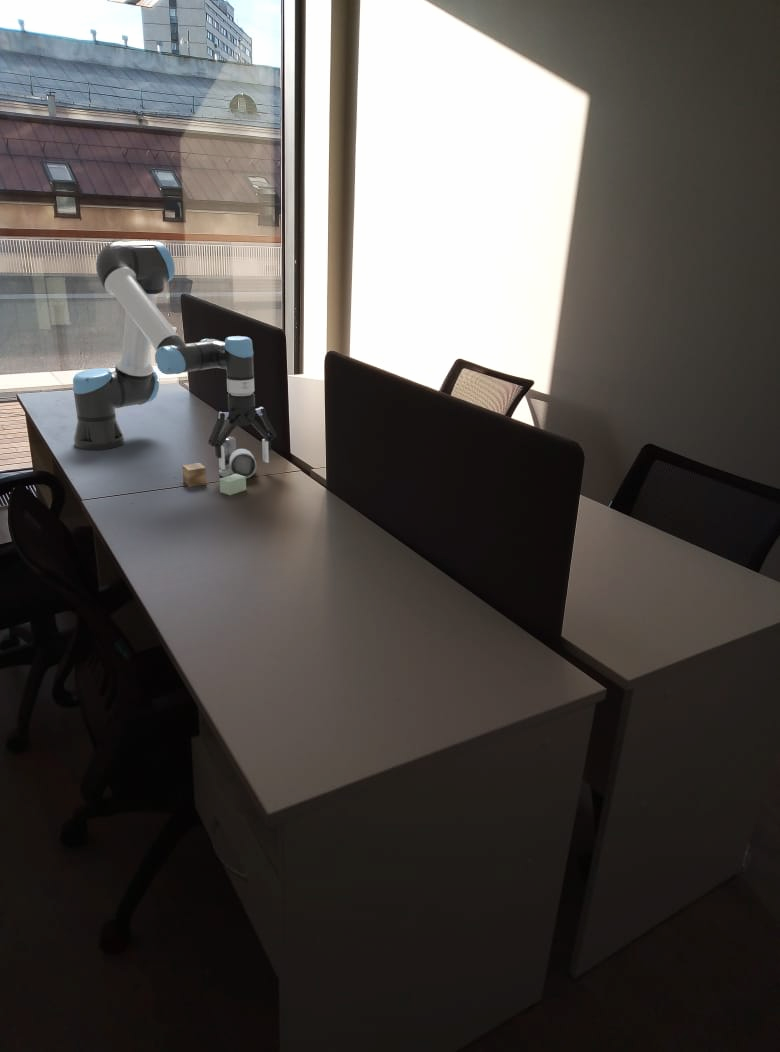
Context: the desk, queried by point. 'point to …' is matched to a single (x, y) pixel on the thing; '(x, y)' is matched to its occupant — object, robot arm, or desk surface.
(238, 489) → the sage green block
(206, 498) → the desk surface
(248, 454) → the ceramic mug
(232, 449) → the dark metal cylinder
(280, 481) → the desk surface
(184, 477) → the walnut block
